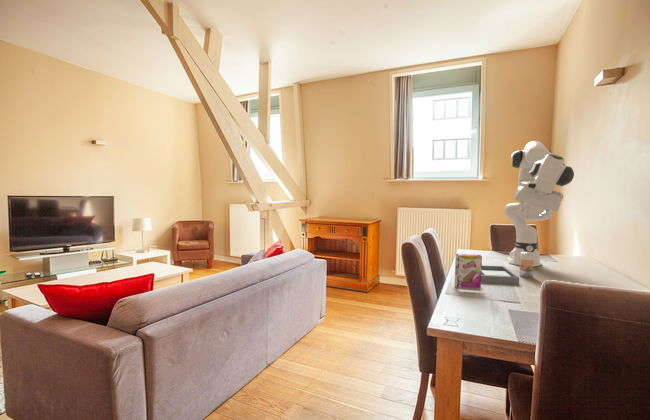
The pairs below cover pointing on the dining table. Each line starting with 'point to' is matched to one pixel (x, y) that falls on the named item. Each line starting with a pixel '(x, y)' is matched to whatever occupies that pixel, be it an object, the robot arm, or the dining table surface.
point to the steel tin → (526, 264)
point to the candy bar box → (468, 270)
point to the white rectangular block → (494, 273)
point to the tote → (499, 279)
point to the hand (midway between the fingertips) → (530, 214)
